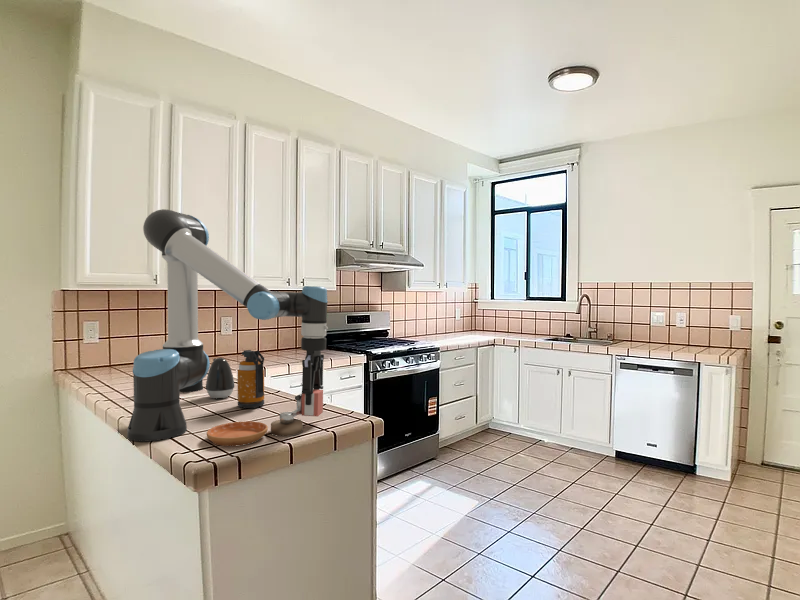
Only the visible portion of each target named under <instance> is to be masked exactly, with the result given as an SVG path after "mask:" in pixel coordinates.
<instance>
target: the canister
mask: <svg viewBox="0 0 800 600" xmlns="http://www.w3.org/2000/svg"><path fill="white" fill-rule="evenodd" d="M241 355H242V356H243V357H244V358H245V359H244V360H242V361H241V360H240V362H239V364H238V370H237V373H236V374H237V407H239V408H242V407H243V408H242V409H246V408H251V409H255V408H254V407H257V408H260V407H261V406H264V405H265V370H264V361H265V357H264V356H263V354H262V353H261V351H259V350H258V349H257V350H256V351H255V350H251V349H246V350H243V351H242V352H241ZM259 406H260V407H259Z"/></svg>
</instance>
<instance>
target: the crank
mask: <svg viewBox="0 0 800 600" xmlns="http://www.w3.org/2000/svg"><path fill="white" fill-rule="evenodd" d="M294 399H295V401H296V409H294V410H292V411H283V412H280V413H279V420H280V423H281V424H290V423H293V422H294V419H295V417H297V416H298V415H299V416H300V415H302V393H299V394H298V395H295V396H294Z"/></svg>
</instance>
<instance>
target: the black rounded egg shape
mask: <svg viewBox="0 0 800 600" xmlns="http://www.w3.org/2000/svg"><path fill="white" fill-rule="evenodd" d="M206 376H207V377H206V382H205V390H206V392H207V394H208V396H209V397H210V398H212V399H214V398H216V400H218V399H217V398H223V399H227V398H229V397H230V396H231V395H232V393H234V392H233V391H234V388H235V380H234V376H233V371H232V368H231V366H230V363H228V360H227V359H226V358H223V357H217V358H213V359H212V363H210V367H209V371H208V373H207V375H206ZM228 396H229V397H228ZM226 397H227V398H226Z"/></svg>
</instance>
